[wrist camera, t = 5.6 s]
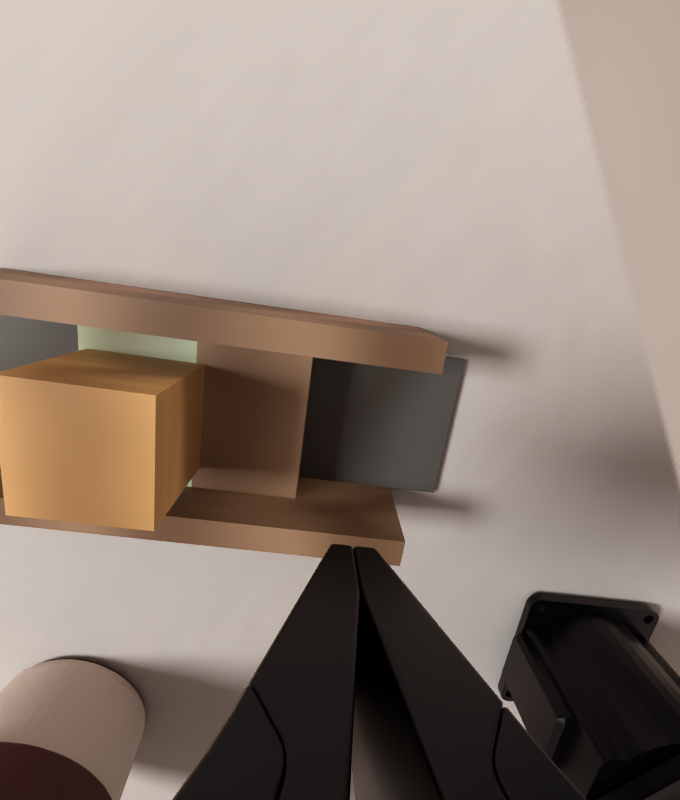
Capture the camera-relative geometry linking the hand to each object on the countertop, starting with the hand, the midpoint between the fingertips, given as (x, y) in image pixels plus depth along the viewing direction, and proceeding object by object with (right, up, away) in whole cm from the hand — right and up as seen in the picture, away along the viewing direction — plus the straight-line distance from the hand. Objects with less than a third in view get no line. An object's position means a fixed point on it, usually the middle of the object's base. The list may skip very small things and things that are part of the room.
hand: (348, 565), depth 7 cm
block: (-7, +3, +7) cm, 10 cm away
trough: (-5, +3, +9) cm, 11 cm away
